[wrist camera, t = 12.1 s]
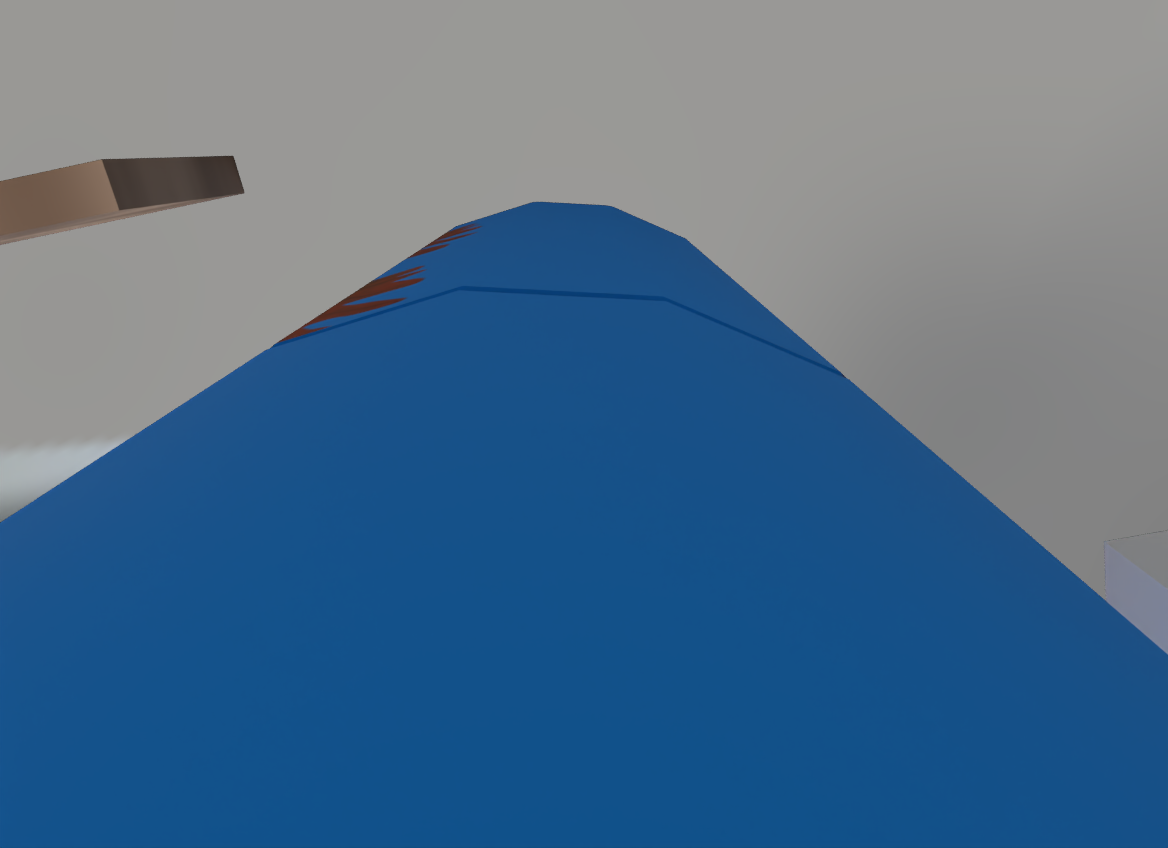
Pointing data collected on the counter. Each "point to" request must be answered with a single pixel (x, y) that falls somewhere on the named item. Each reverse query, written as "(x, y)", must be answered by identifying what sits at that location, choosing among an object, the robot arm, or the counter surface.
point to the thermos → (556, 593)
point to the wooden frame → (110, 192)
